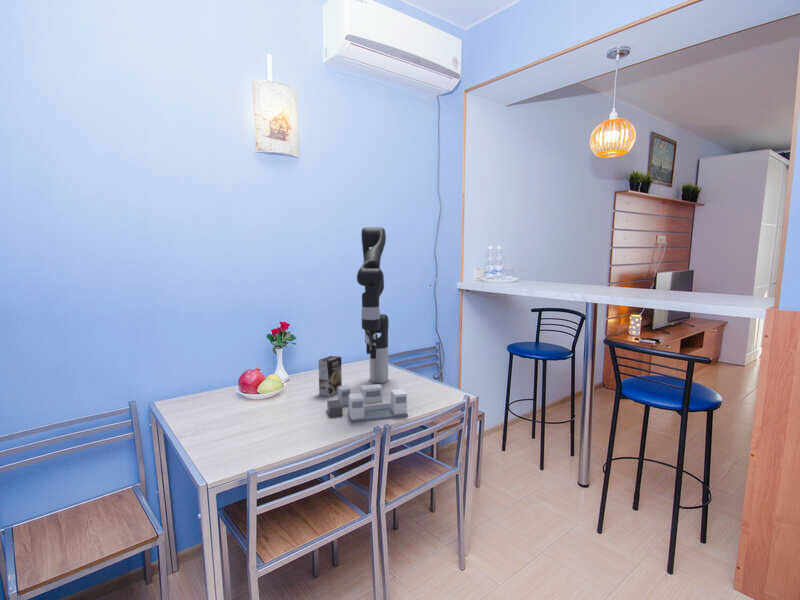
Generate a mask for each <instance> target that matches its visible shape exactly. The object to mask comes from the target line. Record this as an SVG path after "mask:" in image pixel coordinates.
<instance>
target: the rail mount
mask: <svg viewBox="0 0 800 600" xmlns="http://www.w3.org/2000/svg"><path fill="white" fill-rule="evenodd" d="M347 411H348V412H347V413H348V414H347V415H348V417H349V419H350V420H349V421H350V422H351V423H352V424H354V423H355V424H356V423H362V422H369V421H379V420H380V421H381V420H387V419H389V420H390V419H395V418H397V419H398V418H404V417H408V415H409V414H408V393H407V392H406V391H405V390H404V388H397V389H390V401H386V402H383V403H376V404H367V405H364V397H363V395H362V393H361V392H358V393H357V392H356V393H350V394H349V405H348V406H347Z"/></svg>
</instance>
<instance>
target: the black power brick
mask: <svg viewBox="0 0 800 600" xmlns="http://www.w3.org/2000/svg"><path fill="white" fill-rule="evenodd" d="M326 403H327V404H326V406H327V407H326V409H327V413H328V415H329V418H337V417H343V414H344V413H343V406H342V405H341V402H340V400H338V399H334V400H332V399H331V400H327V402H326Z"/></svg>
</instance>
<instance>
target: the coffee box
mask: <svg viewBox="0 0 800 600" xmlns="http://www.w3.org/2000/svg"><path fill="white" fill-rule="evenodd" d="M342 374H343V373H342V357H341V356H335V355H334V356H333V355H330V356H327V357H324V358H321V359H318V389H319V390H318V394H319V395H321V396H325V397H333V396H334V395H336V394H338V387H339V386H343V379H342V378H343V376H342Z"/></svg>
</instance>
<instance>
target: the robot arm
mask: <svg viewBox="0 0 800 600" xmlns="http://www.w3.org/2000/svg"><path fill="white" fill-rule="evenodd" d="M386 239H387V236H386V230H385V228H384V227H382V226H374V227H373V226H371V227H370V226H369V227H363V228H362V229H361V246H362V256H363V263H362V265H361V266H360V267H359V269H358V271H357V274H356V280H357V281H356V282H357V283H358V284H359V285H360V286H362V287H364V291H365V292H363V293H362V295H361V329H362V330H363V331H364V343H365V347H366V349H365V350H366V354H367V355H369V381H370V382H371V383H375V384H382V383H386V382H389V316H388V315H387V314H383V313H382V314H381V310H380V297H381V295H382V294H383V291H384V288H385V279H384V278H385V276H384V273H383V271H382V269H381V258H382V255H383V253H384V249H385V245H386ZM379 334H380V336H378V335H379Z"/></svg>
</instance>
